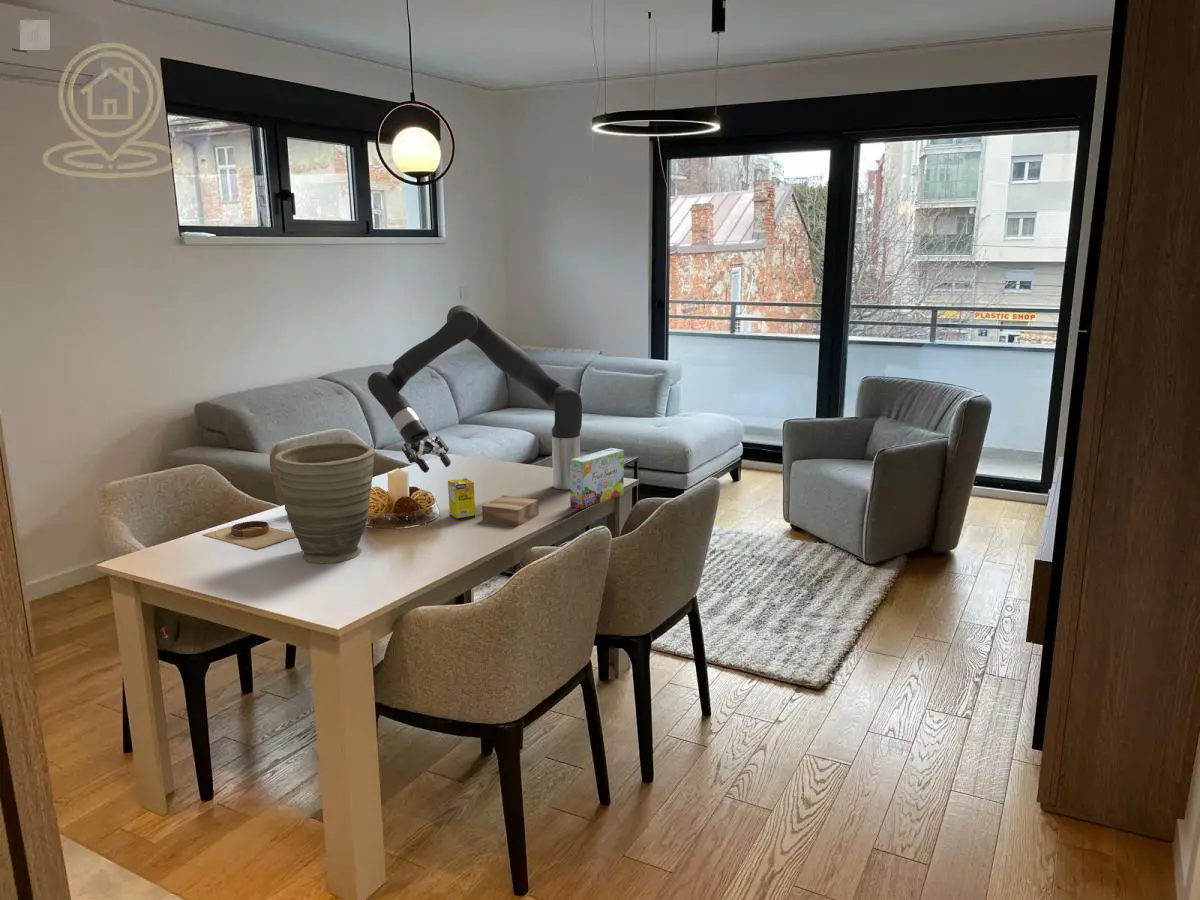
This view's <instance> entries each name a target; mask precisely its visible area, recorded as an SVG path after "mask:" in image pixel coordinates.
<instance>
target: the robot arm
mask: <svg viewBox="0 0 1200 900" xmlns="http://www.w3.org/2000/svg"><path fill="white" fill-rule="evenodd" d="M466 340H468V341H470V342H471V343H472V344H474V345H475V346H477V348H479V349H480V350H481V351H482V352H483V353H484V355H485V356H486V357H487V358H488V359H489V360H490V361H491V362H492V363H493V364H494V365H495V366H496V367H497V368H498V369H499V370H500V371H502V372H503V373H504V374H506V375H507V376H508V377H510V378H511V379H513V380H514V381H515V382H516V383H518V384H519V385H522V386H523V387H524V388H526V389H528V390H530V391H532V392H533V393H535V395H537V396H538V397H539V398H540V399H541V400H543V402H544V403H546V405H548V407H549V408H550V409H551V410H553V412H554V424H553V426H552V427H551V447H552V448H551V452H552V456H551V457H552V459H551V460H552V487H553V488H554V489H556V490H557V489H558V490H563V491H564V490H567V491H568V490H570V460H571V459H574V458H578V457H581V429H582V425H583V401H582V397H581V395H580V393H579V392H578V391H577V390H575V389H573V388H571V387H569V386H566V385H564V384H563V383H561V382H559V381H558V380H556V379H554V378H553V377H552V376H551V375H549V374H548V373H547V372H545V370H544V369H543V368H542V367H541V366H540V364H539V363H538V362H537V361H536V360H535V359H534V358H533V357H532V356H530V354H528V353H527V352H526V351H524V349H522V348H520V347H519V346H518V345H516V344H515V343H514V342H513V341H511V340H510V339H508V338H507V337H505V336H503V335H502V334H500V333H499V332H497V331H496V330H494V328H492V327H491V326H490V325H489V324H487V323H486V322H485V321H484V320H483V319H482V318H481V317H480V316H479V315H478V314H477V313H476V312H475V311H474V310H473V309H472V308H471V307H469V306H467V305H461V304H460V305H459V304H458V305H454V306H452V307H451V308H450V309H449V310H448V312H447V315H446V322H445V323H444V324H443V326H442V327H440V329H439V330H438V331H437V332H436V333H435V332H434V334H433V335H431V336H430V337H428V338H427V339H425V340H423V341H422V342H420V343H418V344H416V345H414V346H412V347H411V348H409V349H408V350H407V351H405V352H404V353H403V354H402V355H400V356H399V358H397V359H395V361H394V362H393V363H392V369H391V371H390V372H389V373H388V374H387V373H385V372H382V371H375V372H373V373H371V375H369V377H367V378H368V379H367V388H368V390H369V392H370V393H371V395H372V396H373V397H374V399H376V401H378V403H379V404H380V405H381V406H382V407H383V409H384V410H385V412H386V413H387V415H388V416H389V418H390V419H391V421H392V422H393V425H394V427H395V428H396V430H397V431H398V433H399V434H400V436H401V437H402V439H403V441H404V444H403V445H402V446H401V450H402V452H403V454H404V455H405V457H406V459H407V460H408V462H409V463H410V464H413V463H415V464H416V465H418V467H419V468H420V470H421V471H422V472H423V473H424V474H426V473H428V472H429V471H430V467H429V465H428V464H427V462H426V460H425V459H424V458H423V456H425V455H426V454H427V455H429V454H430V455H433V456H434V455H435V456H436V457H438V458H439V460H440V462H441V463H442V464H443V466H444V467H445V468H448V467H450V465H451V460H450V458H449V457H448V455H447V453H448V452H449V450H450V448H449V447H448V445H447V444H446V443H445V441H444V440H443V439H442V437H441V436H440V435H438V434H437V435H436V436H435V437H433V438H432V437H431V435H429V430H428V427H426V425H425V424H424V422H423V421H422V419H421V417H420V415H418V414H417V412H416V411H415V410H414V409H413V407H412V406H411V404H410V403H409V402H408V400H407V399H406V398H405V397H404V396H403V395H402V394H400V392H401V390H402V389H403V388H404V387H405V386H406V384H407V383H408V382H409V380H410V379H412V378H413V377H414V376H415V375H417V374H418V373H420V371H422V370H423V369H425V367H426V366H429V364H431V363H432V362H433V361H435V360H436V359H437V358H439V357H440V356H441V355H442V354H444V353H445V352H446V351H449V350H450V349H452V348H453V347H455V346H456V345H458V344H460V343H462V342H464V341H466Z"/></svg>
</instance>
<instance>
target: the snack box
mask: <svg viewBox="0 0 1200 900" xmlns="http://www.w3.org/2000/svg"><path fill="white" fill-rule="evenodd" d="M624 466H625V449H620V448H613V447H609V448H606V449H603V450H599V451H596V452H593V453H589V454H585V455H580V457H578V458H574V459H571V460H570V489H569V490H570V491H569V495H570V497H569V499H570V501H569V502H570V503H569V504H570V505H569V506H570V507H573V508H577V509H580V510H585V509H586V508H589V507H592V506H595V505H598V504H600V503H604V502H606V501H609V500H611V499H614V498H618V497H620V496H623V495H624V481H625V480H624V478H625V477H624V476H625V475H624V469H625V467H624Z"/></svg>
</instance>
